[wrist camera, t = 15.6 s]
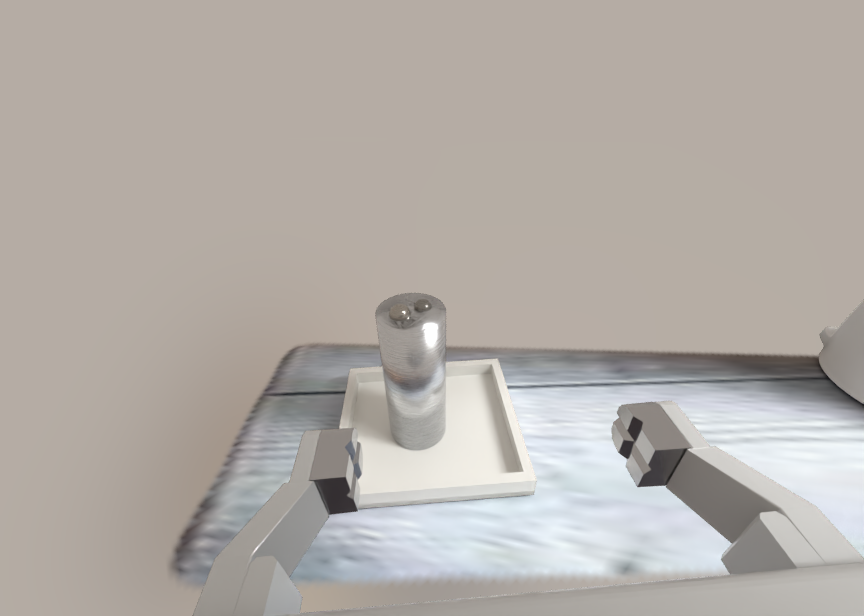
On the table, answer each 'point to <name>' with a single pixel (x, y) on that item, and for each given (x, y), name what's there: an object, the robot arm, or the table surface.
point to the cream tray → (441, 441)
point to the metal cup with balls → (414, 367)
